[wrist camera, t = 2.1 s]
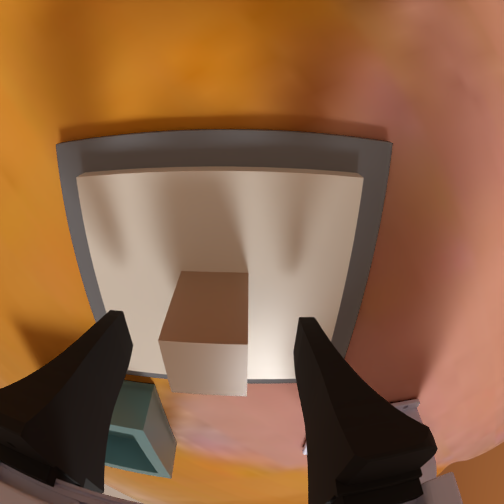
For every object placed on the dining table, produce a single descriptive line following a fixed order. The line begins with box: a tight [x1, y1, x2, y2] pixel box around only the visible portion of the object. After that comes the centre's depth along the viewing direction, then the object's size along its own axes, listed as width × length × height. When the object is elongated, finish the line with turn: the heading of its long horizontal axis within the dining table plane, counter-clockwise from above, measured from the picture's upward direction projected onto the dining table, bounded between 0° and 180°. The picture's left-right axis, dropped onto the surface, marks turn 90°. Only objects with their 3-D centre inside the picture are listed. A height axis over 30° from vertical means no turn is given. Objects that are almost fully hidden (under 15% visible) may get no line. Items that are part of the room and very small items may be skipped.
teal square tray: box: [105, 380, 177, 478], centre depth 20 cm, size 10×10×4 cm
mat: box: [56, 129, 393, 383], centre depth 15 cm, size 15×15×1 cm
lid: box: [76, 166, 364, 396], centre depth 13 cm, size 12×12×5 cm
